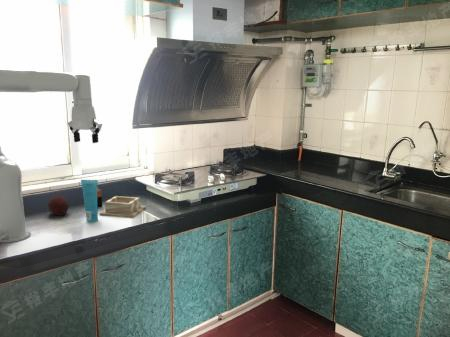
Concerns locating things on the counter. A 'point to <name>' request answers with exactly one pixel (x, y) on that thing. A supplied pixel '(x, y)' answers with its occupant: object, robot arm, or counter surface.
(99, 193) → the battery
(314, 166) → the counter surface
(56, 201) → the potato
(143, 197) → the counter surface
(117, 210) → the socket block
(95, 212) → the tube
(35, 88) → the robot arm
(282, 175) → the counter surface
